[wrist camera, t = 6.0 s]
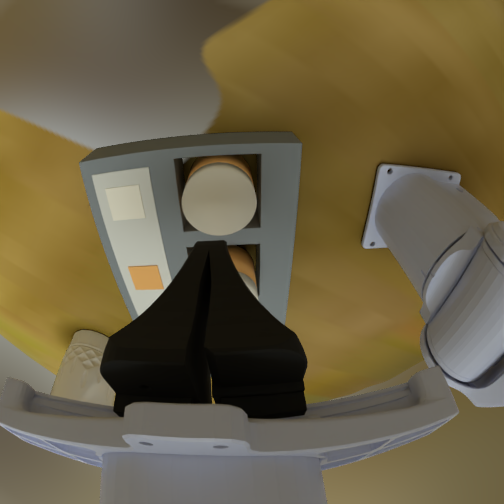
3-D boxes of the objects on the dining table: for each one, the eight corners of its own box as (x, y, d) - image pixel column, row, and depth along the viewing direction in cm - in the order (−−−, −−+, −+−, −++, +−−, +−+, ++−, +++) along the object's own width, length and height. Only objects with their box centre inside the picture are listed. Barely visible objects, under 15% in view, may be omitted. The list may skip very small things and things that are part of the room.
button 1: (251, 147, 18) (256, 167, 15) (251, 204, 21) (256, 233, 18) (186, 151, 18) (177, 172, 15) (192, 207, 21) (186, 237, 18)
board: (291, 131, 18) (302, 144, 16) (274, 352, 34) (278, 374, 31) (96, 148, 17) (77, 163, 15) (163, 356, 33) (161, 377, 31)
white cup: (61, 338, 31) (41, 401, 23) (84, 317, 28) (60, 392, 20) (106, 366, 35) (94, 427, 27) (135, 350, 32) (124, 422, 24)
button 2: (253, 242, 21) (259, 280, 18) (253, 286, 24) (258, 324, 20) (193, 245, 21) (188, 283, 17) (200, 288, 23) (197, 327, 20)
